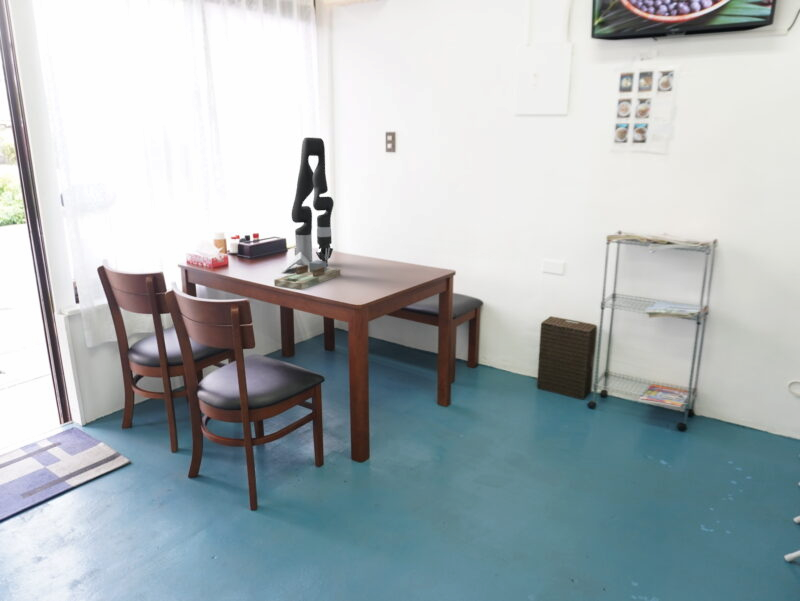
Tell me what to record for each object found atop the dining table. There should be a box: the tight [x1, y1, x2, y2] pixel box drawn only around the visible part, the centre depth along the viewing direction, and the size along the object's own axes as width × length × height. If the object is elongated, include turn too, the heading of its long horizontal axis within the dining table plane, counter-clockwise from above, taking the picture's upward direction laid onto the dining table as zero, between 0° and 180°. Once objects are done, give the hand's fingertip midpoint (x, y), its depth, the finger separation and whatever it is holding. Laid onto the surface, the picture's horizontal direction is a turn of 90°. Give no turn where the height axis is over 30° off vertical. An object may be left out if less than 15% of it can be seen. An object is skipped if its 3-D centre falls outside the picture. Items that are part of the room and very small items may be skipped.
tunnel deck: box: [273, 265, 342, 290], centre depth 291 cm, size 16×35×6 cm, turn 153°
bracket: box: [281, 252, 310, 274], centre depth 318 cm, size 13×10×20 cm
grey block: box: [309, 259, 328, 272], centre depth 298 cm, size 6×7×5 cm
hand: (325, 267), depth 304 cm, fingers closed
